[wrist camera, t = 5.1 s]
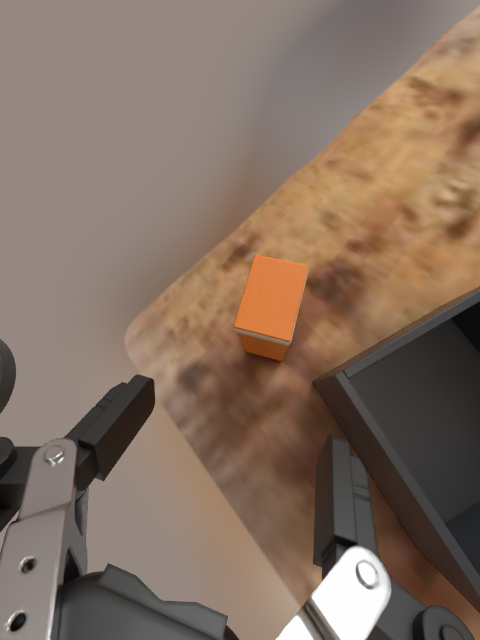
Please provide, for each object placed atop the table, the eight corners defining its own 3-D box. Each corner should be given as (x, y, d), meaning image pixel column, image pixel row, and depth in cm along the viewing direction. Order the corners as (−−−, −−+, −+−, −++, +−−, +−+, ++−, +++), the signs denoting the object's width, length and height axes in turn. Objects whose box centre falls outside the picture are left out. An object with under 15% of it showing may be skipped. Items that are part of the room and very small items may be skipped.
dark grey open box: (415, 547, 21) (511, 646, 13) (312, 381, 25) (334, 375, 17) (567, 452, 22) (750, 487, 13) (443, 305, 25) (526, 262, 17)
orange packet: (282, 362, 25) (291, 342, 16) (245, 352, 26) (232, 327, 16) (294, 311, 27) (310, 264, 17) (258, 302, 27) (254, 253, 18)
